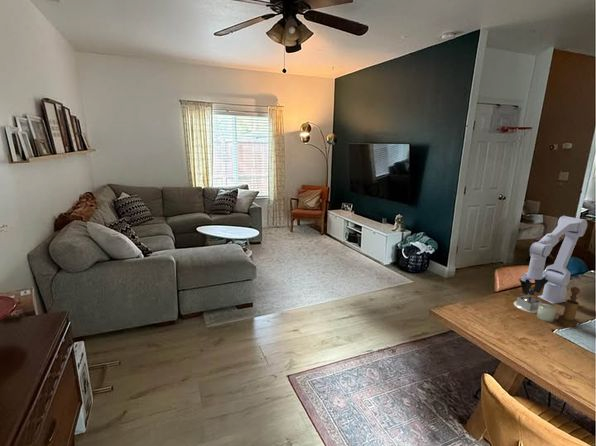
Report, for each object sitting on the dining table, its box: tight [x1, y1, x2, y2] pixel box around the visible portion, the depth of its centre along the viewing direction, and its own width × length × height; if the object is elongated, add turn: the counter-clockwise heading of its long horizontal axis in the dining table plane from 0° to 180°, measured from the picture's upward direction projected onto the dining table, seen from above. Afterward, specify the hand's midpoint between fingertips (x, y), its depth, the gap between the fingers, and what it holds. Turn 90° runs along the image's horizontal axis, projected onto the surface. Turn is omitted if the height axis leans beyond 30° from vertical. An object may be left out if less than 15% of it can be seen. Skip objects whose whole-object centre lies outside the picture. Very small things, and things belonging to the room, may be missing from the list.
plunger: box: [523, 288, 536, 303], centre depth 152 cm, size 5×5×6 cm
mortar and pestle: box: [557, 286, 581, 329], centre depth 137 cm, size 7×6×18 cm
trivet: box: [513, 300, 538, 314], centre depth 154 cm, size 12×12×1 cm
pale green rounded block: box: [536, 303, 557, 323], centre depth 143 cm, size 6×6×6 cm
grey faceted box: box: [516, 294, 543, 311], centre depth 154 cm, size 7×9×4 cm
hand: (530, 292), depth 152 cm, fingers open, 7 cm apart
